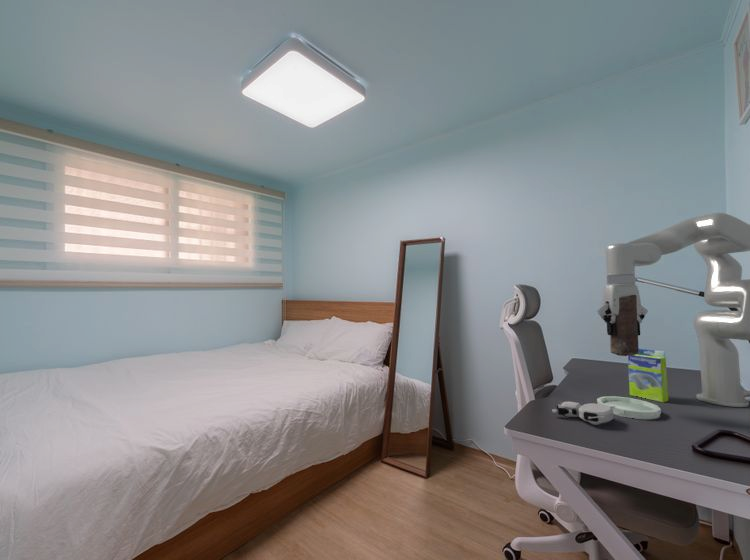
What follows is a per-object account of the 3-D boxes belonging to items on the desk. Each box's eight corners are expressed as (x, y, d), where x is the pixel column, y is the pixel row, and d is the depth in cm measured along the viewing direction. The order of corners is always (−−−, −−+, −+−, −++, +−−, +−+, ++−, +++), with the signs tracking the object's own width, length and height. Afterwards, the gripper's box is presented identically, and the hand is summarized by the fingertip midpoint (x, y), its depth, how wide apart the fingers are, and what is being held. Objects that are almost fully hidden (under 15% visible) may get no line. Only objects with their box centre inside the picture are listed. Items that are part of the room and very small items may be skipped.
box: (629, 395, 124) (626, 348, 125) (634, 393, 126) (632, 347, 127) (663, 403, 114) (660, 352, 115) (669, 401, 116) (666, 351, 117)
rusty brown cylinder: (645, 357, 104) (642, 294, 105) (622, 358, 104) (618, 294, 106) (627, 353, 112) (624, 294, 113) (605, 354, 112) (602, 294, 113)
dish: (631, 402, 116) (630, 395, 116) (674, 418, 100) (674, 411, 100) (586, 403, 115) (586, 396, 115) (623, 420, 99) (623, 412, 99)
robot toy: (550, 420, 102) (608, 431, 91) (548, 405, 102) (606, 414, 91) (564, 411, 110) (619, 419, 99) (563, 397, 110) (617, 404, 99)
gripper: (636, 281, 114) (639, 333, 113) (587, 281, 113) (590, 334, 112) (656, 280, 106) (659, 336, 105) (603, 280, 105) (606, 337, 104)
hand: (623, 334), depth 109 cm, fingers closed on rusty brown cylinder, 7 cm apart
